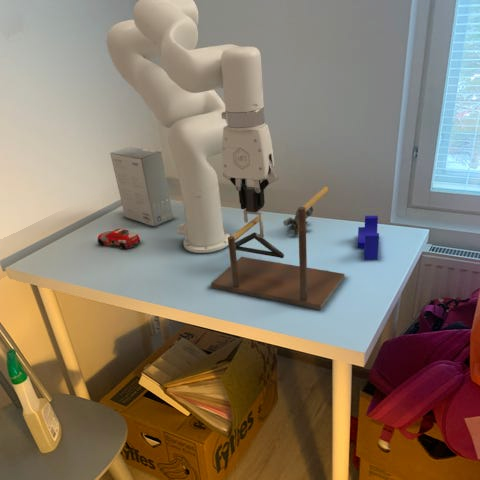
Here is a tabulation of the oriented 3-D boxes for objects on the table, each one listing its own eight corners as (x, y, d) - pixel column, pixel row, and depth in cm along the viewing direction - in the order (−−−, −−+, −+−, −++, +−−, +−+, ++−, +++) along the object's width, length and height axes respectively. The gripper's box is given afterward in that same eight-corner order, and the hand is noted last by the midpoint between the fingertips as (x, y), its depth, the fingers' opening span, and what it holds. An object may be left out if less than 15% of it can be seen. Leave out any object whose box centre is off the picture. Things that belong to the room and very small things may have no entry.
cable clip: (357, 238, 124) (358, 215, 121) (376, 238, 123) (377, 215, 120) (357, 259, 115) (358, 235, 111) (377, 259, 114) (379, 235, 111)
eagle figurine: (316, 233, 127) (319, 214, 133) (300, 213, 123) (304, 194, 130) (292, 246, 131) (297, 226, 137) (276, 227, 128) (281, 208, 134)
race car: (94, 244, 137) (91, 231, 135) (108, 237, 141) (104, 224, 138) (130, 251, 131) (127, 237, 129) (143, 243, 134) (140, 229, 132)
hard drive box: (174, 218, 148) (162, 151, 137) (154, 227, 143) (140, 158, 132) (143, 209, 157) (130, 145, 146) (123, 217, 153) (108, 152, 142)
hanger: (228, 250, 116) (220, 186, 107) (231, 247, 117) (224, 184, 108) (282, 260, 109) (279, 192, 100) (285, 256, 110) (282, 190, 102)
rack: (211, 287, 110) (198, 199, 99) (242, 260, 120) (233, 177, 109) (320, 310, 98) (320, 212, 87) (344, 278, 108) (347, 186, 97)
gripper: (201, 122, 98) (212, 210, 108) (273, 124, 90) (278, 218, 100) (220, 113, 103) (229, 198, 113) (290, 115, 95) (293, 205, 106)
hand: (252, 207), depth 107 cm, fingers closed on hanger, 2 cm apart
